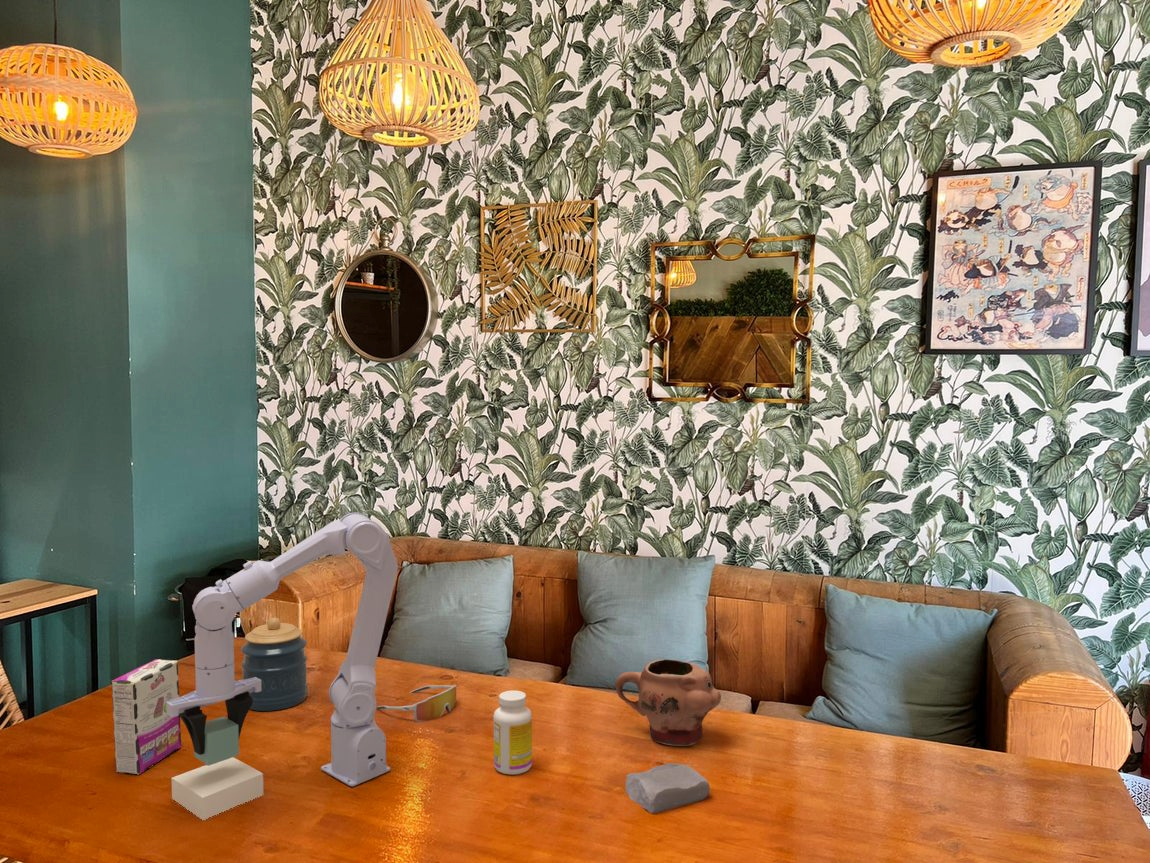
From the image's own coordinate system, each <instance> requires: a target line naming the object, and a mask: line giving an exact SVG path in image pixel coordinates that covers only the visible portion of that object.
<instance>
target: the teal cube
mask: <svg viewBox="0 0 1150 863" xmlns="http://www.w3.org/2000/svg"><path fill="white" fill-rule="evenodd" d="M204 739H205V750H204V754H202V755H199V754H197V753H196V752H194V751H193V755H194V758H196V759H198V761H200V762H202V763H203V764H205V765H208V766H209V765H212V764H215V763H218V762H221V761H224V760H226V759H229V758H232V757H234V758H235V757H238V756H240V743H239V742H240V737H239V734H238V724H236V723H234V722H233V721H231V720H229V719H228V717H227V716H221V717H218V718H217V717H216V718H215V719H211V720H206V724H205V732H204Z"/></svg>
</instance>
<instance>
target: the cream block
mask: <svg viewBox="0 0 1150 863" xmlns="http://www.w3.org/2000/svg"><path fill="white" fill-rule="evenodd" d="M262 795H263V796H264V773H262V772H261V771H259V770H257V769H256V768H254V767H252V766H250V765H249V764H246V763H245V762H243V761H241V760H239V759H238V758H235V757H232V758H229V759H226V760H224V761H221V762H218V763H215V764H212V765H209V766H208V765H206V764H205V765H202V766H199V767H197V768H195V769H192V770H189V771H186V772H183V773H181V774H178V775H175V776H173V777H171V800H172V799H173V800H175V801H176V802H178V803H179V804H181V805H182V806H183V807H185V808H186V809H187V810H186V809H185V808H184V809H185V810H186V811H188V810H189V811H190V812H189V811H188V812H189V813H191V812H192V813H193V814H192V813H191V814H192V815H194V814H195V815H196V816H195V815H194V816H195V817H197V818H198V817H199V818H198V819H200V820H201V819H202V821H203V820H204V821H206V819H207V820H209V819H210V818H209V817H211V818H213V817H212V816H214V815H216V816H218V815H220V814H219V813H221V812H223V813H224V811H225V812H227V811H226V810H228V811H230V810H231V809H230V808H232V809H234V808H233V807H235V806H237V805H240V804H242V805H244V804H246V803H245V802H247V803H249V802H251V801H253V799H254V800H256V799H258V798H261V797H263V796H262ZM260 796H261V797H260ZM257 797H258V798H257ZM255 798H256V799H255ZM173 800H172V801H173ZM250 800H251V801H250ZM248 801H249V802H248ZM176 802H175V803H176ZM243 803H244V804H243ZM179 804H178V805H179ZM182 806H181V807H182ZM240 806H241V805H240ZM183 807H182V808H183ZM237 807H238V806H237ZM235 808H236V807H235ZM229 809H230V810H229ZM217 814H218V815H217ZM221 814H222V813H221ZM214 817H215V816H214ZM208 818H209V819H208Z"/></svg>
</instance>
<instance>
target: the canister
mask: <svg viewBox="0 0 1150 863" xmlns="http://www.w3.org/2000/svg"><path fill="white" fill-rule="evenodd" d="M302 634H303V630H302V629H301V628H299V627H297V626H296V625H294V624H293V623H287V622H281V620H280V619H279V617H271V618H269V619H268V621H267V623H266V624H262V625H259V626H257V627H254V628H253V629H252V630H251V631H249V632H248V633H247V634H246V635H245V636H244V639H245V640H246V642H245V643H244V644H243V645H242V646H241V648H240V651H241V653H242V654H243V660H242V661H241V665H240V666H241V669H242V670H241V671H242V675H241V676H242V680H245V679H250V678H254V677H256V678H258V679H260V680H261V691H260V692H257V693H255V692H251V693H249V696H250V697H252V698H253V704H252V706H251V707H250V709H249V710H252V711H258V712H270V711H271V712H272V711H280V710H285V709H289V708H292V707H294V706H295V707H296V706H297V705H299V704H301V703H302V702H304V701H305V699H306V698H307V692H308V683H307V660H308V656H307V655H306V654H305V648H306V646H307V645H308V644H307V640H306V639H305V638H304V637H302Z"/></svg>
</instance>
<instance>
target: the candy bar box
mask: <svg viewBox="0 0 1150 863" xmlns="http://www.w3.org/2000/svg"><path fill="white" fill-rule="evenodd" d="M178 662H179V661H178V660H173V659H161V658H160V659H159V658H158V659H153V660H152V661H150V662H148V663H146V664H143V665H141V666H139V667H137V668H135V669H133V670H131V671H129V672H127V673H125V674H122V675H121V676H119V677H117V678H115V679H113V680H111V691H112V692H111V693H112V696H111V698H112V716H113V718H112V719H113V735H114V753H115V755H114V757H115V759H114V760H115V771H116V773H118V772H119V773H118V774H123V773H129V774H128V775H134V774H137V775H138V776H139V774H140V775H141V773H142V772H143V773H144V771H145V770H146V771H147V769H148V768H149V767H151V766H152V765H154V764H155V763H157V762H158V763H160V762H161V761H163V760H164V759H166V758H167V757H169V756H170V755H172V754H173V753H174V751H175V750H176V751H178V750H179V749H180V747H181V748H182V733H181V732H182V730H181V729H182V728H181V717H180V716H179V715H178V716H176V717H171V716H169V715H168V714H167V704H166V702H169V701H172V700H175V699H177V698H180V686H179V668H178V667H179V665H178V664H179V663H178ZM177 749H178V750H177ZM176 751H175V752H176ZM171 753H172V754H171ZM169 754H170V755H169ZM168 755H169V756H168ZM165 757H166V758H165ZM163 758H164V759H163ZM162 759H163V760H162ZM160 760H161V761H160ZM159 761H160V762H159ZM158 763H157V764H158ZM155 765H156V764H155ZM155 765H154V766H155ZM152 767H153V766H152ZM152 767H151V768H152ZM149 769H150V768H149ZM149 769H148V770H149ZM146 771H145V772H146ZM143 773H142V774H143Z"/></svg>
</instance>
